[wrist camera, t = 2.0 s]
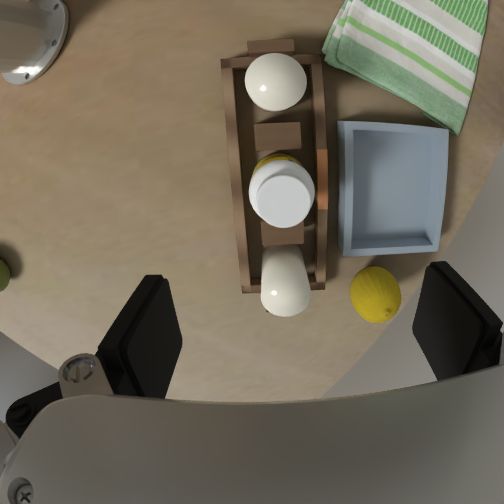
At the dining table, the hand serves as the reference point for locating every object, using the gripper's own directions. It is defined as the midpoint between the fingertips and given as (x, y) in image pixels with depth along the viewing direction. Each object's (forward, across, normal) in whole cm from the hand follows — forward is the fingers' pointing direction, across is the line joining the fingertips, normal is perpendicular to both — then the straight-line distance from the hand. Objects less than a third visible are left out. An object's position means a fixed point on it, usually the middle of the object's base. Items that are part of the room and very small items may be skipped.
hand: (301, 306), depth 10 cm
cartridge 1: (+22, 0, -9) cm, 24 cm away
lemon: (+22, -10, +12) cm, 27 cm away
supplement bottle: (+22, 0, 0) cm, 23 cm away
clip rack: (+22, 0, 0) cm, 22 cm away
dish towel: (+23, -17, -20) cm, 35 cm away
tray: (+22, -12, +1) cm, 25 cm away
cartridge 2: (+22, 0, +9) cm, 24 cm away
